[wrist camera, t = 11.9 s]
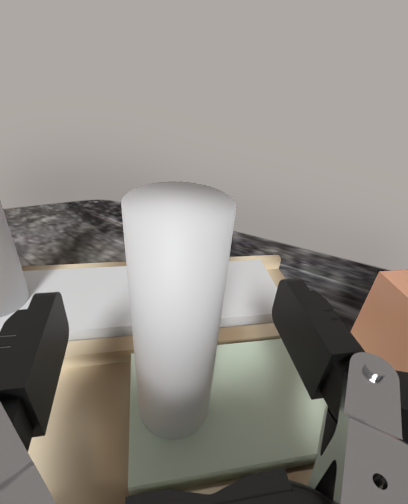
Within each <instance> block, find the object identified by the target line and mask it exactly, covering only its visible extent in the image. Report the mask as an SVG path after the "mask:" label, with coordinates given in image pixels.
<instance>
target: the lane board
mask: <svg viewBox="0 0 408 504" xmlns="http://www.w3.org/2000/svg"><path fill="white" fill-rule="evenodd" d="M244 260H261V261H262V263H263V265H264V266H265V268H266V270H267V272H268V273H269V275H270V277H271V278H272V280H273V282H274V284H275V285H276V287H277V288H278V284H279V281H280V280H282V279H285V278H284V276H283V275H282V273H281V271H280V270H279V265H280V261H281V258H280V257H279V255H265V256H243V257H229V261H244ZM117 266H127V264H126V262H109V263H86V264H64V265H41V266H21V267H22V271H32V270H54V269H75V268H96V267H117ZM273 339H281V337H280V335H279V333H278V331H277V329H276V327H275V325H274V323H269V324H257V325H246V326H235V327H224V328H219V336H218V343H217V345H223V344H233V343H243V342H253V341H263V340H273ZM132 353H134V346H133V336H123V337H111V338H100V339H89V340H78V341H68V344H67V348H66V352H65V356H64V360H63V364H62V368H61V373H60V377H59V381H58V385H57V389H56V393H55V397H54V401H53V405H52V409H51V413H50V417H49V421H48V426H47V430H46V434H45V436H39V437H32V439H31V443H30V446H29V450H28V454H29V456H30V457H31V459H32V461H33V462H34V464H35V466H36V468H37V470H38V471H39V473H40V475H41V477H42V479H43V480H44V482H45V484H46V486H47V488H48V490H49V491H50V493H51V495H52V497H53V499H54V501H55V502H56V504H125V497H127V496H129V491H128V462H129V421H130V379H131V354H132ZM314 465H315V464H310V465H304V466H299V467H294V468H288V469H285V470H286V473H287V476H288V479H289V480H293V481H296V482H300V483H303V484H305V485H307V486H308V484H309V480H310V477H311V474H312V471H313V468H314ZM241 478H243V477H240V478H234V479H229V480H224V481H218V482H213V483H207V484H202V485H197V486H191V487H186V488H181V489H175V490H178V491H186V492H193V493H201V494H213V493H215V492H217V491H219V490H221V489H223V488H225V487H226V486H228V485H230V484H232V483H234V482H235V481H237V480H239V479H241Z"/></svg>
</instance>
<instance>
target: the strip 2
mask: <svg viewBox="0 0 408 504" xmlns="http://www.w3.org/2000/svg"><path fill="white" fill-rule="evenodd" d="M121 206H122V218H123V230H124V241H125V253H126V264H127V276H128V288H129V299H130V311H131V322H132V334H133V346H134V353H132V354H131V379H130V421H129V462H128V491H129V496H132V495H138V494H143V493H149V492H154V491H160V490H165V489H171V490H175V489H181V488H186V487H191V486H197V485H202V484H207V483H213V482H218V481H224V480H229V479H234V478H240V477H245V476H246V475H248V474H253V473H259V472H264V471H270V470H275V469H281V468H285V469H288V468H294V467H299V466H304V465H310V464H315V461H316V456H317V450H318V444H319V439H320V433H321V427H322V422H323V416H324V410H325V407H326V405H327V404H326V402H325V400H324V398H321V399H314V400H311V398H310V396H309V394H308V392H307V390H306V388H305V386H304V384H303V382H302V380H301V378H300V376H299V374H298V372H297V370H296V368H295V366H294V363H293V361H292V359H291V357H290V355H289V353H288V351H287V349H286V347H285V345H284V343H283V341H282V339H273V340H263V341H253V342H243V343H233V344H223V345H217V343H218V336H219V328H220V321H221V314H222V307H223V299H224V292H225V285H226V278H227V270H228V263H229V256H230V249H231V241H232V234H233V227H234V220H235V212H236V204H235V202H234V200H233V199H232V198H231V197H230V196H229V195H227V194H226V193H224V192H222V191H220V190H218V189H215V188H212V187H209V186H206V185H201V184H196V183H189V182H160V183H153V184H148V185H144V186H140V187H138V188H135V189H134V190H131V191H130V192H128V193H127V194H126V195H125V196H124V197H123V199H122V201H121Z"/></svg>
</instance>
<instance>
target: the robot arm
mask: <svg viewBox="0 0 408 504" xmlns="http://www.w3.org/2000/svg"><path fill="white" fill-rule="evenodd" d="M272 319H273V322H274V325H275V327H276V329H277V331H278V333H279V335H280V337H281V339H282V341H283V343H284V345H285V347H286V349H287V351H288V353H289V355H290V357H291V359H292V361H293V363H294V366H295V368H296V370H297V372H298V374H299V376H300V378H301V380H302V382H303V384H304V386H305V388H306V390H307V392H308V394H309V396H310V398H311V400H314V399H321V398H324V400H325V402H326V404H327V405H326V407H325V410H324V416H323V422H322V427H321V433H320V439H319V444H318V450H317V456H316V461H315V465H314V468H313V471H312V474H311V477H310V480H309V484H308V486H307V485H305V484H303V483H300V482H296V481H293V480H289V479H288V476H287V473H286V470H285V468H281V469H275V470H270V471H264V472H259V473H253V474H248V475H246V476H245V477H243V478H241V479H239V480H237V481H235V482H234V483H232V484H230V485H228V486H226V487H225V488H223V489H221V490H219V491H217V492H215V493H213V494H201V493H193V492H186V491H178V490H171V489H165V490H160V491H154V492H149V493H143V494H138V495H132V496H127V497H125V504H408V372H402V371H397V370H395V369H394V368H393V367H392V366H391V365H390V364H389V363H388V362H387V361H385V360H384V359H382V358H381V357H379V356H377V355H374V354H371V353H367V352H365V351H364V349H363V348H362V347H361V345H360V344H359V343H358V341H357V340H356V339H355V337H354V336H353V335H352V333H351V332H350V331H349V329H348V328H347V327H346V325H345V324H344V323H343V321H342V320H340V317H339V316H338V315H337V313H336V312H335V311H333V308H332V307H331V305H330V304H329V303H328V301H327V300H326V299H325V298H324V297H322V296H321V295H320V294H318V293H317V292H316V291H310V290H309V288H308V287H307V286H306V284H305V283H304V281H303V280H302V279H300V278H297V279H282V280H280V281H279V284H278V288H277V292H276V295H275V299H274V303H273V307H272ZM68 339H69V324H68V319H67V315H66V311H65V307H64V303H63V299H62V295H61V293H60V292H47V293H35V294H34V295H33V297H32V300H31V302H30V304H29V306H28V309H22V310H17V311H16V312H15V313H14V314H13V315H11V316H10V317H9V318H8V319H7V320H6V321H5V322H4V324H3V326H2V328H1V330H0V504H56V502H55V501H54V499H53V497H52V495H51V493H50V491H49V490H48V488H47V486H46V484H45V482H44V480H43V479H42V477H41V475H40V473H39V471H38V470H37V468H36V466H35V464H34V462H33V461H32V459H31V457H30V456H29V454H28V450H29V446H30V443H31V439H32V437H39V436H45V434H46V430H47V426H48V421H49V417H50V413H51V409H52V405H53V401H54V397H55V393H56V389H57V385H58V381H59V377H60V373H61V368H62V364H63V360H64V356H65V352H66V348H67V344H68Z"/></svg>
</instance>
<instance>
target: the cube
mask: <svg viewBox="0 0 408 504" xmlns="http://www.w3.org/2000/svg"><path fill="white" fill-rule="evenodd" d="M351 333H352V335H353V336H354V337H355V339H356V340H357V341H358V343H359V344H360V345H361V347H362V348H363V349H364V351H365V352H367V353H371V354H374V355H377V356H379V357H381V358H382V359H384V360H385V361H387V362H388V363H389V364H390V365H391V366H392V367H393V368H394V369H395V370H397V371H402V372H408V270H395V271H379V273H378V275H377V277H376V279H375V281H374V283H373V286H372V288H371V290H370V292H369V294H368V296H367V298H366V300H365V302H364V304H363V306H362V309H361V311H360V313H359V315H358V317H357V319H356V321H355V323H354V325H353V327H352V330H351Z"/></svg>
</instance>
